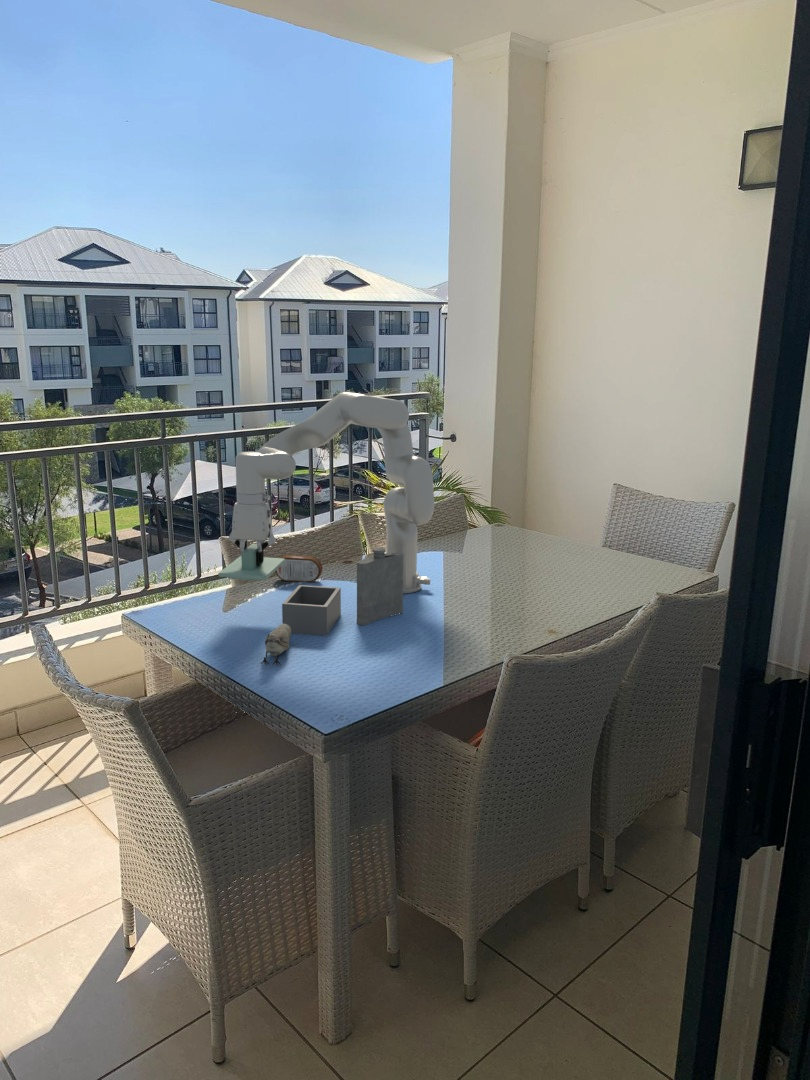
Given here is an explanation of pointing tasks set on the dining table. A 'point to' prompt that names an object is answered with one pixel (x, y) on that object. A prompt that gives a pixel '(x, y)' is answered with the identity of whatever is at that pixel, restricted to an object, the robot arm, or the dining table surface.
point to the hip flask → (379, 586)
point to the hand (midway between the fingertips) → (252, 563)
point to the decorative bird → (277, 642)
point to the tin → (299, 568)
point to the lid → (251, 566)
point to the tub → (312, 609)
